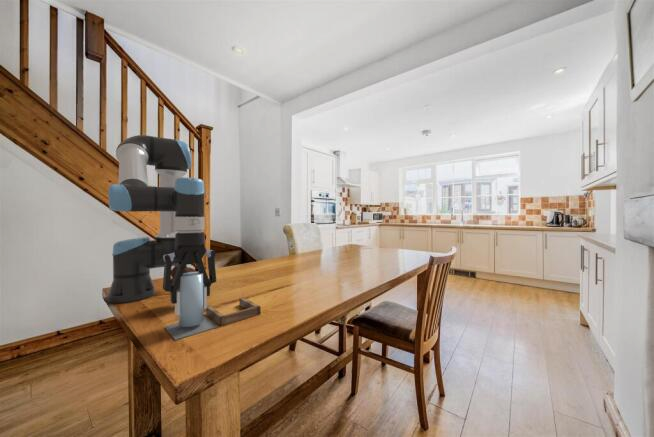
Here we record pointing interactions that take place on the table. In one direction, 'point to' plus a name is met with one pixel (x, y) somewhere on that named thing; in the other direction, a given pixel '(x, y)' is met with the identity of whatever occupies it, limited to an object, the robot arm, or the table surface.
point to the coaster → (189, 329)
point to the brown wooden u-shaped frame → (222, 319)
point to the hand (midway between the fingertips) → (191, 310)
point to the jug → (191, 299)
